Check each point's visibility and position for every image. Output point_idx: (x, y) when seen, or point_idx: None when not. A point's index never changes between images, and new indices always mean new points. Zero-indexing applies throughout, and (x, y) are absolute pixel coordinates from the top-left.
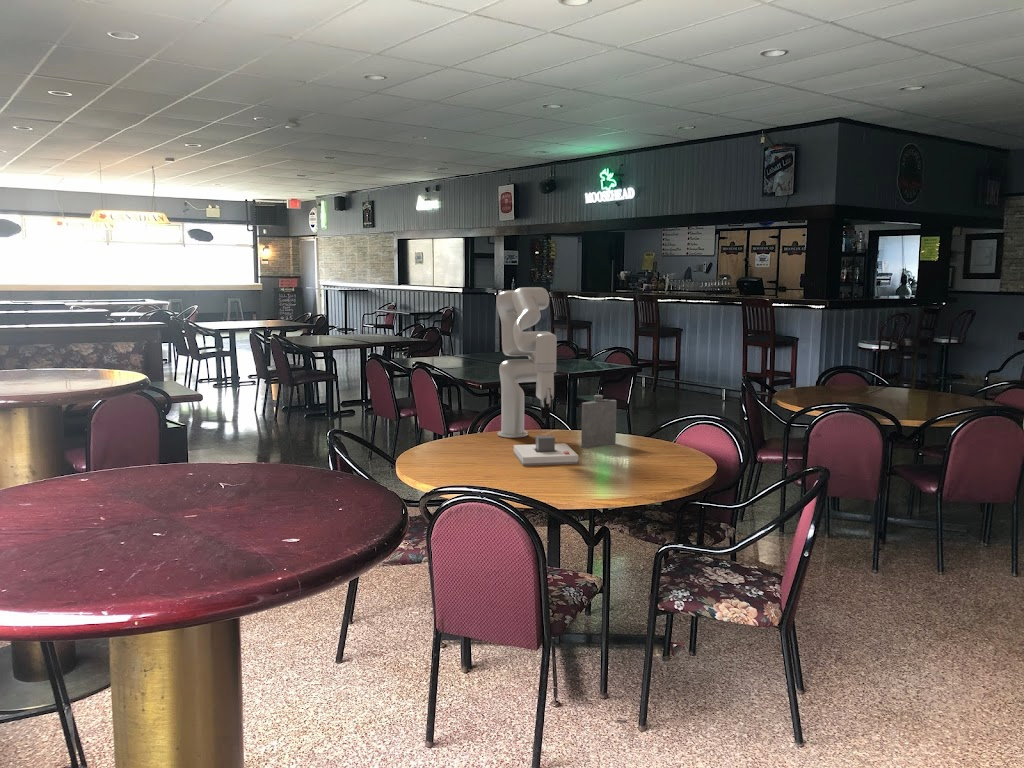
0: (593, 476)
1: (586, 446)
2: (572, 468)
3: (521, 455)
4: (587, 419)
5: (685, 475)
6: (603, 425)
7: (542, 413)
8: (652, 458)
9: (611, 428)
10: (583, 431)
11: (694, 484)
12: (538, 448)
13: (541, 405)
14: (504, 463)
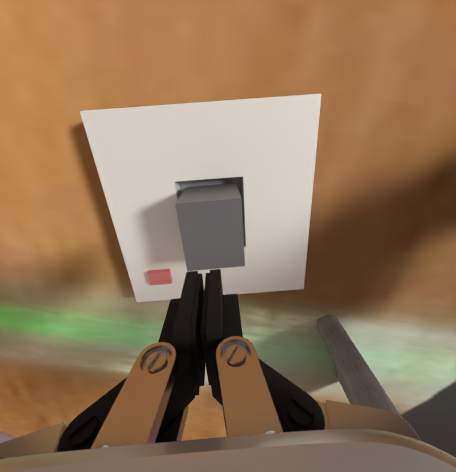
0: (11, 302)
1: (318, 328)
2: (88, 267)
3: (118, 108)
4: None
5: None
6: None
7: (182, 298)
8: (199, 412)
9: None
10: (343, 358)
11: (6, 433)
12: (182, 192)
13: (219, 350)
14: (129, 30)
